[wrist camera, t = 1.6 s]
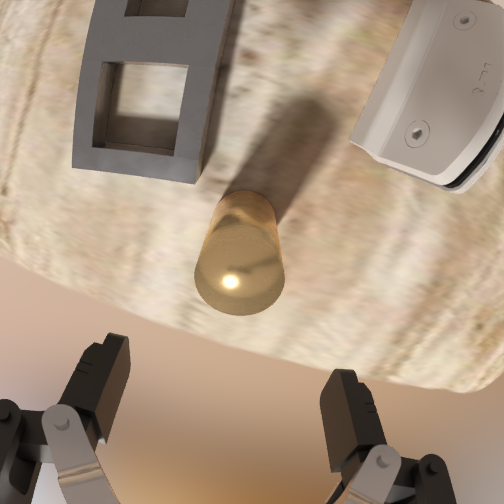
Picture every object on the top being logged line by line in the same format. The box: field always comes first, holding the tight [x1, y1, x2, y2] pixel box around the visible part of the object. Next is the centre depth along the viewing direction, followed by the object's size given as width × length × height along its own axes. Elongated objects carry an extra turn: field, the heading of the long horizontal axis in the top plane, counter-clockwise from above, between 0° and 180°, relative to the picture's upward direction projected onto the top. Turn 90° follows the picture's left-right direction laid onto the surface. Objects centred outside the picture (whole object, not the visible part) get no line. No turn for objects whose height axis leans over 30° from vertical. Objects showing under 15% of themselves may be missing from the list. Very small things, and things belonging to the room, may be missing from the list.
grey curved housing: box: [349, 0, 504, 194], centre depth 16 cm, size 17×5×10 cm, turn 157°
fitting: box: [194, 191, 285, 316], centre depth 22 cm, size 5×5×9 cm
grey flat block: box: [72, 0, 235, 184], centre depth 18 cm, size 10×20×2 cm, turn 169°
